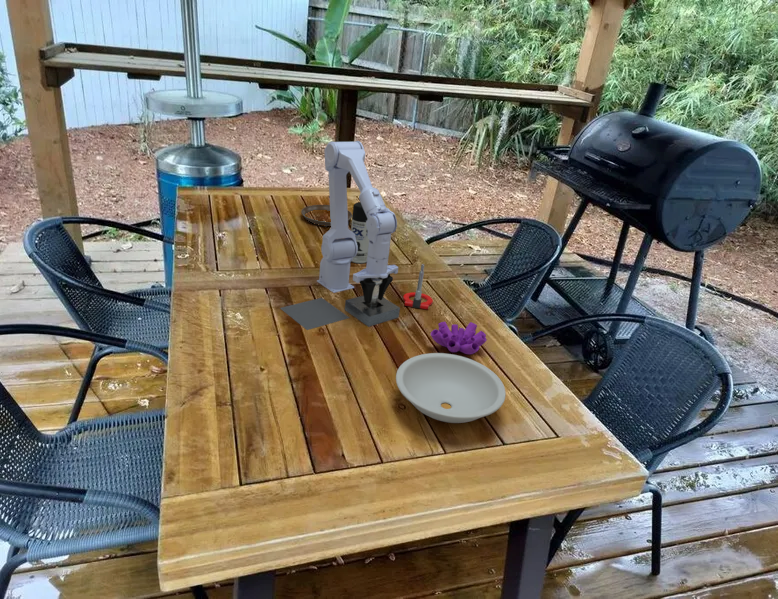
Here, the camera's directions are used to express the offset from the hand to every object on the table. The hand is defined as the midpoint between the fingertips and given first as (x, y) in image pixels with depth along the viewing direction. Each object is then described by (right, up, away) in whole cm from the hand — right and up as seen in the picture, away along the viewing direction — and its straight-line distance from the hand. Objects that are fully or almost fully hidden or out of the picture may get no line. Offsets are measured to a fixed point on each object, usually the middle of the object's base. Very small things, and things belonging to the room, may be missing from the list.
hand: (373, 300), depth 157 cm
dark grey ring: (-21, +33, +72) cm, 82 cm away
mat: (-16, -4, -1) cm, 17 cm away
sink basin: (+17, -24, -33) cm, 44 cm away
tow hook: (+13, -1, +13) cm, 19 cm away
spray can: (-6, +14, +37) cm, 40 cm away
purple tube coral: (+22, -13, -10) cm, 28 cm away
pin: (-1, -3, +1) cm, 3 cm away
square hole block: (-1, -4, +2) cm, 5 cm away
